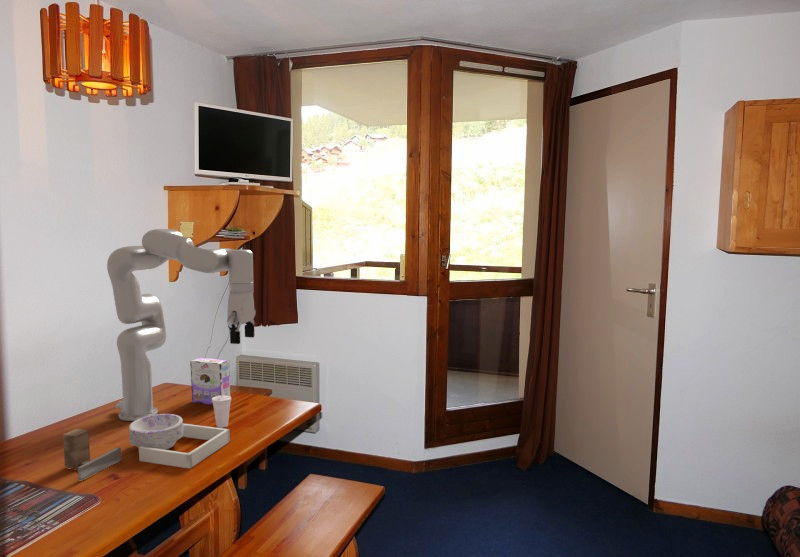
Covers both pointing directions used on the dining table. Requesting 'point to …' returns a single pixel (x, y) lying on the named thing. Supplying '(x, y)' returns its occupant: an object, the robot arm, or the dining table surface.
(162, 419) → the paper bowls
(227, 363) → the candy box
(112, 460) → the scraper
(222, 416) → the smoothie
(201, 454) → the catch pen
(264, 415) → the dining table surface
